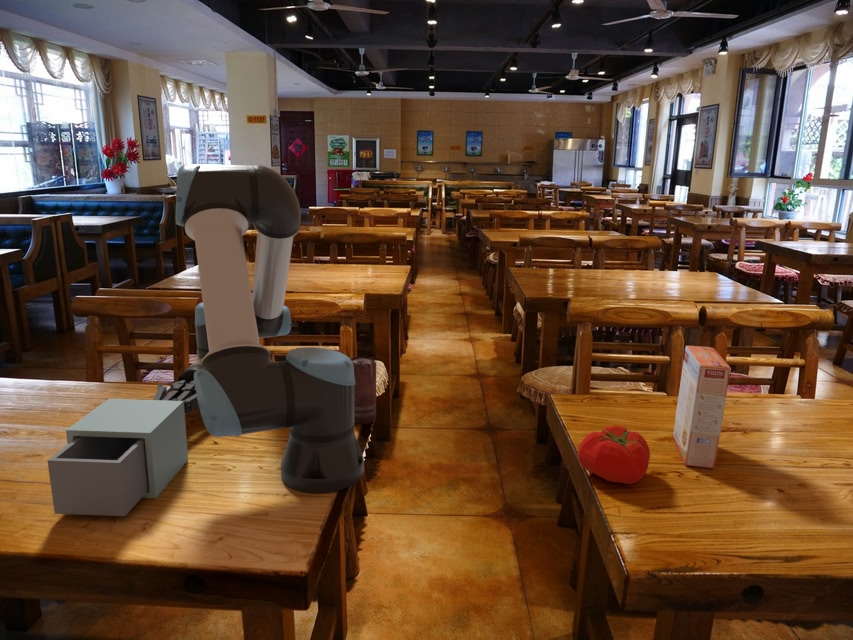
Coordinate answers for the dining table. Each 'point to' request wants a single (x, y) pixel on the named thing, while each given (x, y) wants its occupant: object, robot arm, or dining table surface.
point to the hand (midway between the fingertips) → (154, 421)
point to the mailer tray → (99, 476)
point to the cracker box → (701, 406)
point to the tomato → (615, 454)
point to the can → (364, 390)
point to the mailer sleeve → (142, 433)
